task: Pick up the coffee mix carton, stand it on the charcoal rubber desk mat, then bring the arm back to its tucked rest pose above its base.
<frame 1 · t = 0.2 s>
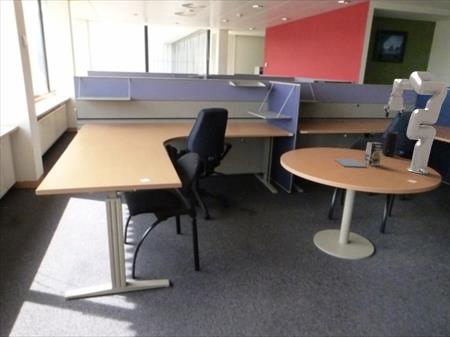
hand: (392, 117, 272), 31 cm above the table, tool pointing down, fingers open, 9 cm apart
coffee box: (371, 164, 250), on the table
desk mat: (350, 163, 249), on the table
portable speaker: (388, 156, 281), on the table
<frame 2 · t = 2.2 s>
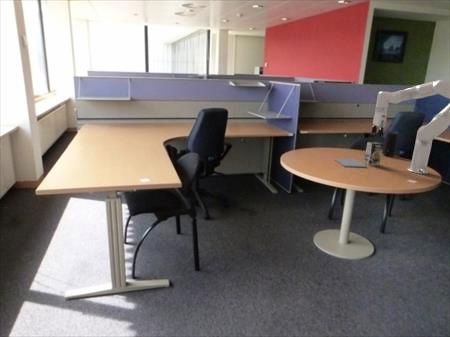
hand: (376, 134, 244), 22 cm above the table, tool pointing down, fingers open, 9 cm apart
nothing on the table moved.
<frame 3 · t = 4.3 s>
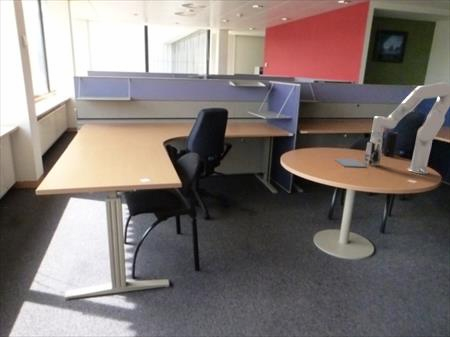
hand: (372, 157, 249), 5 cm above the table, tool pointing down, fingers closed on coffee box, 7 cm apart
coffee box: (371, 164, 250), on the table, touching gripper
everything else where it was.
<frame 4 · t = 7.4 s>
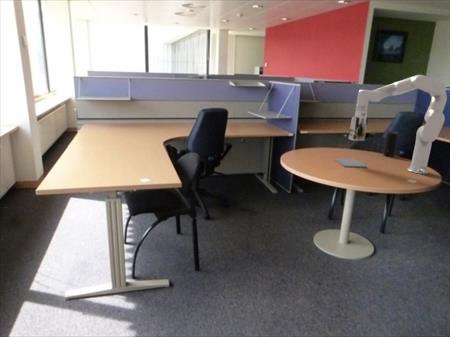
hand: (357, 133, 243), 22 cm above the table, tool pointing down, fingers closed on coffee box, 7 cm apart
coffee box: (356, 140, 245), point 17 cm above the table, touching gripper
everything else where it was.
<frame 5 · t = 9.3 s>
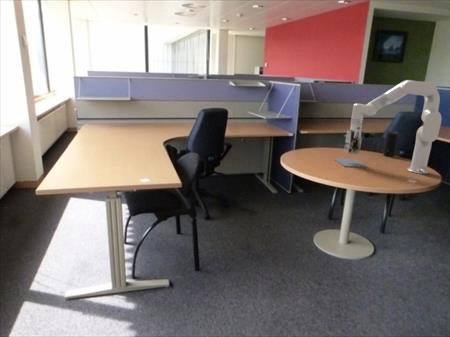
hand: (352, 146, 246), 13 cm above the table, tool pointing down, fingers closed on coffee box, 7 cm apart
coffee box: (351, 153, 247), point 8 cm above the table, touching gripper
everything else where it was.
when the fingers open (7 cm above the table, at t = 10.9 s): coffee box drops 1 cm, resting on desk mat.
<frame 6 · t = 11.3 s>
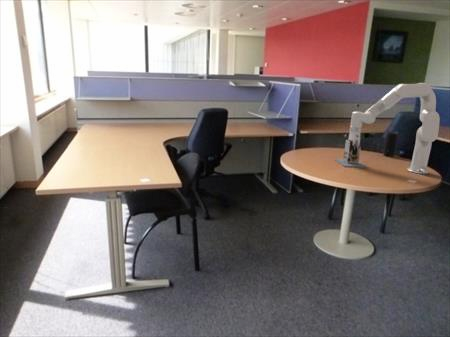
hand: (351, 153, 247), 8 cm above the table, tool pointing down, fingers open, 9 cm apart
coffee box: (350, 162, 249), point 1 cm above the table, touching desk mat
everything else where it was.
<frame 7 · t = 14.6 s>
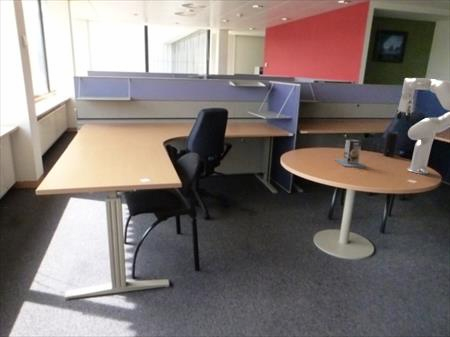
hand: (402, 120, 249), 32 cm above the table, tool pointing down, fingers open, 9 cm apart
nothing on the table moved.
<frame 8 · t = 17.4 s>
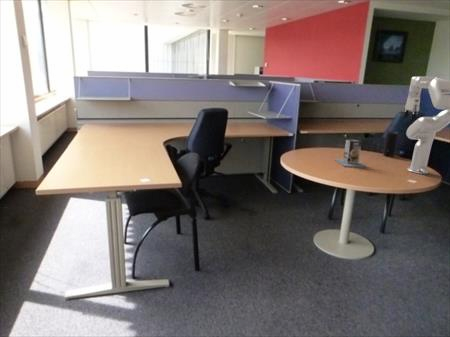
hand: (409, 118, 250), 33 cm above the table, tool pointing down, fingers open, 9 cm apart
nothing on the table moved.
at the end: coffee box inside the target area on the desk mat (0.2 cm from its centre), point 0.8 cm above the desk mat's base; coffee box tilted 0°; the gripper is holding nothing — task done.
